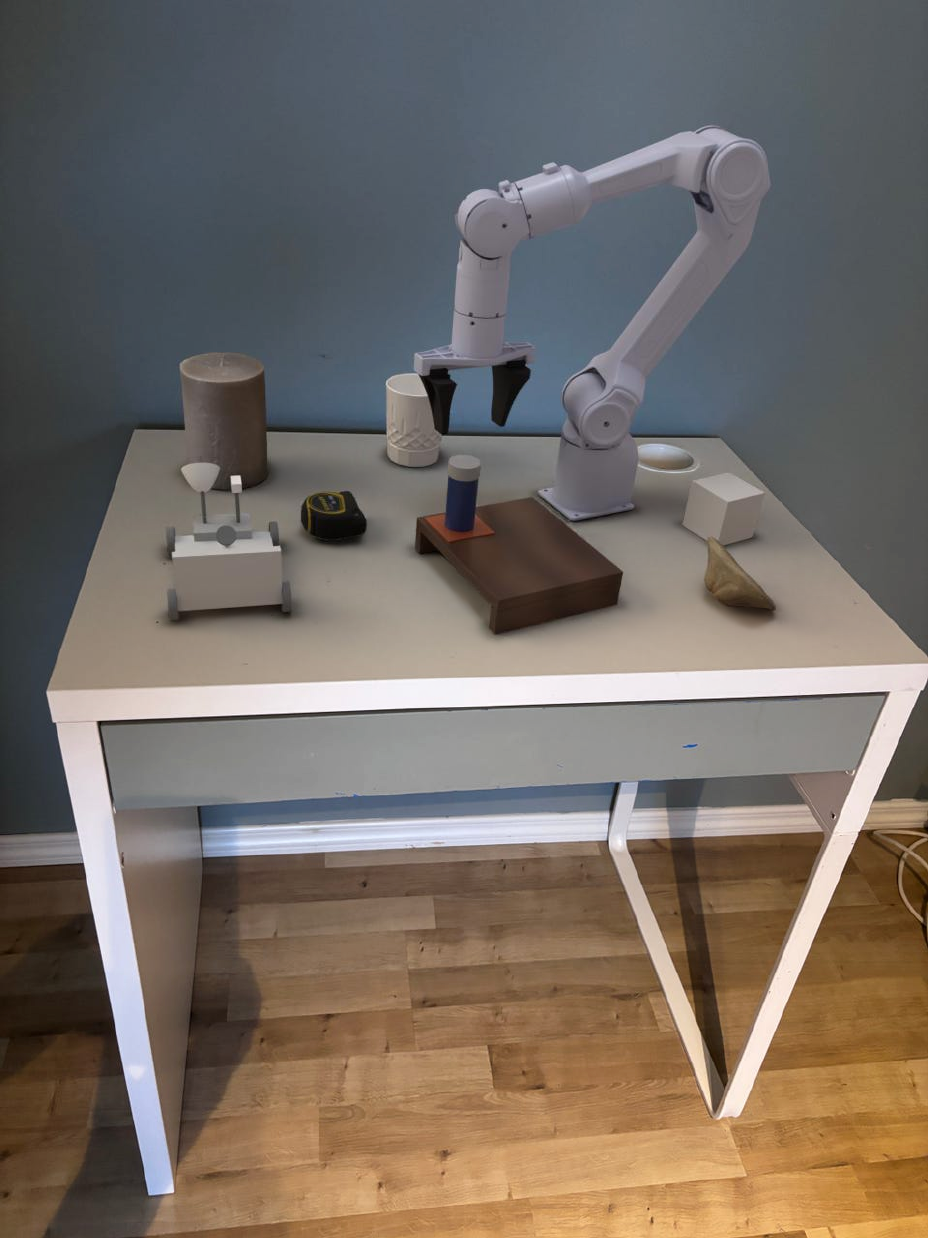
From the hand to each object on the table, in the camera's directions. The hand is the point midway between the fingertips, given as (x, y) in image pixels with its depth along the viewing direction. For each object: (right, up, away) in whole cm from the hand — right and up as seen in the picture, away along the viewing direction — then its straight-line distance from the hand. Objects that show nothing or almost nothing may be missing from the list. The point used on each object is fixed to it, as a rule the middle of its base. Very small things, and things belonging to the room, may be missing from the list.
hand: (469, 427), depth 115 cm
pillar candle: (-30, -4, +7) cm, 31 cm away
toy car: (-25, -18, -12) cm, 33 cm away
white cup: (-7, -1, +16) cm, 17 cm away
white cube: (+30, -12, +5) cm, 33 cm away
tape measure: (-15, -12, -2) cm, 20 cm away
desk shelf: (+5, -18, -8) cm, 20 cm away
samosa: (+28, -20, -8) cm, 36 cm away
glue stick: (-1, -12, -8) cm, 15 cm away
